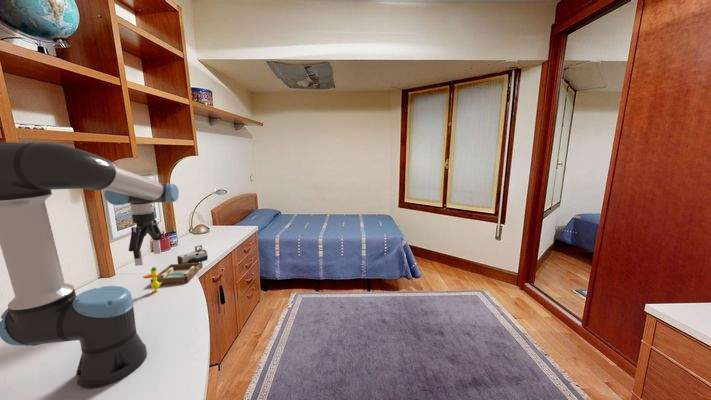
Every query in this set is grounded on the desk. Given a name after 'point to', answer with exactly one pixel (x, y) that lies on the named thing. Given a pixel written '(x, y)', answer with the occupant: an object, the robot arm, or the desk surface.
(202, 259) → the camera
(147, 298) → the desk surface
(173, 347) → the desk surface
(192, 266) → the walled box
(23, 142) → the robot arm
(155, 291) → the toy figure
